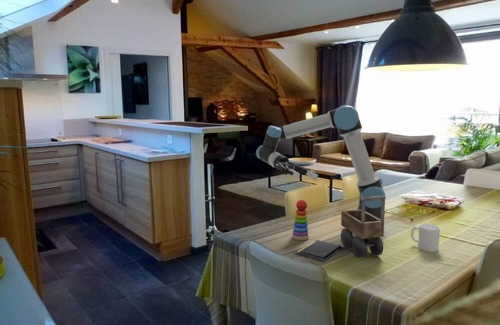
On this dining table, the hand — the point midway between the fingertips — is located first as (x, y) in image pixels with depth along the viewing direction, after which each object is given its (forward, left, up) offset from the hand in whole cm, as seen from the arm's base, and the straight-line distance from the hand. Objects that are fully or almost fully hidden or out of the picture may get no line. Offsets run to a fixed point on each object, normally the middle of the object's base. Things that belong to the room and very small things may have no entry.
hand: (307, 177), depth 190 cm
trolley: (-14, +27, -29) cm, 42 cm away
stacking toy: (+5, +4, -29) cm, 30 cm away
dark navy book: (+3, +21, -30) cm, 36 cm away
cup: (-43, +31, -29) cm, 60 cm away
